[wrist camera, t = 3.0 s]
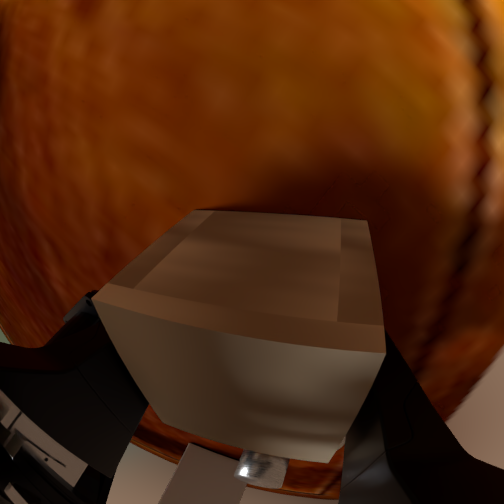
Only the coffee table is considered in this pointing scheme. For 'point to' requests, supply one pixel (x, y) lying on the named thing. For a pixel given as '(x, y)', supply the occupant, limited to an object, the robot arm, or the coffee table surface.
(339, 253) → the beige wooden cube
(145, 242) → the coffee table surface
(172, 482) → the milk carton
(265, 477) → the post stand
